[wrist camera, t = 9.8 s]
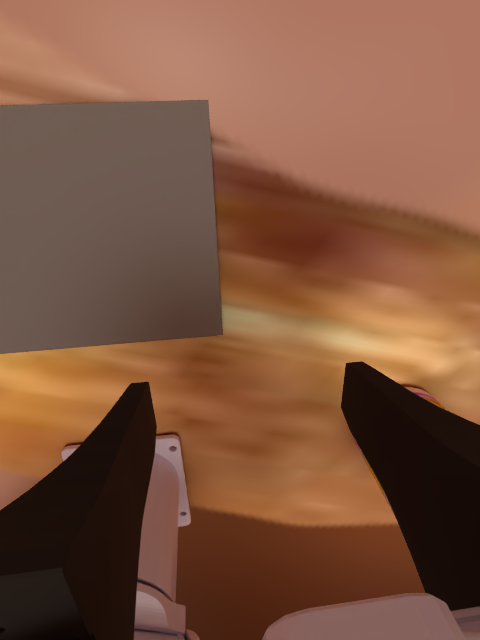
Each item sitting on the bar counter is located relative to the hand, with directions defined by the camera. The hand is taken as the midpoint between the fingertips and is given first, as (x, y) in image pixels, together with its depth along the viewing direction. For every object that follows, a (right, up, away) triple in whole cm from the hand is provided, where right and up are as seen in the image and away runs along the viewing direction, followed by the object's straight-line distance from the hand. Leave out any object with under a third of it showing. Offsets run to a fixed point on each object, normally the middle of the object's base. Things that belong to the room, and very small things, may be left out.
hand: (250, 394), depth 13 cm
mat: (-13, +7, +6) cm, 15 cm away
